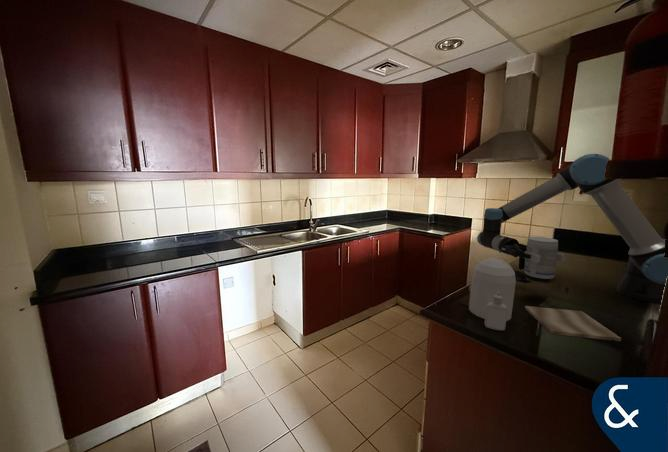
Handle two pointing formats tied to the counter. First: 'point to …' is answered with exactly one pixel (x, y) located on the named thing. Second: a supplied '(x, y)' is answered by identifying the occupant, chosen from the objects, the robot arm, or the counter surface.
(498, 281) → the container
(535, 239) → the supplement tub
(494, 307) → the eye dropper bottle
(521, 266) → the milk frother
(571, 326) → the board
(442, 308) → the counter surface
